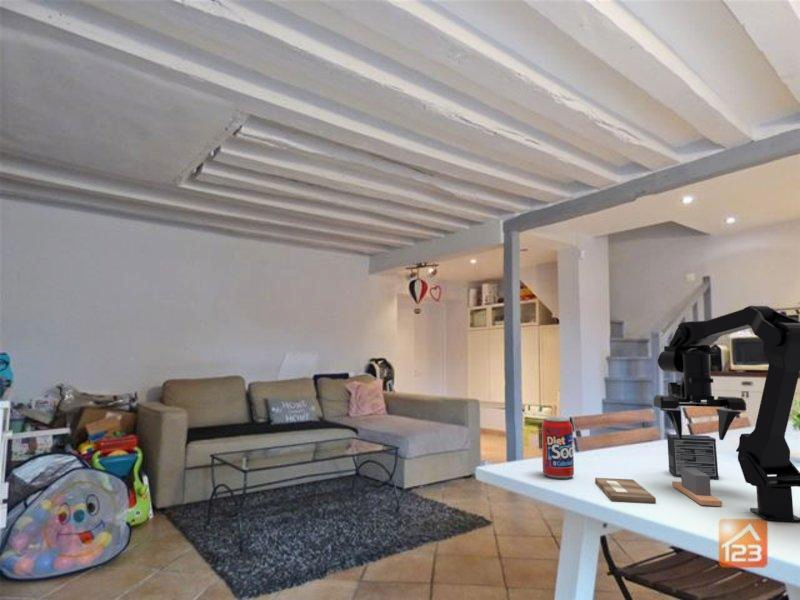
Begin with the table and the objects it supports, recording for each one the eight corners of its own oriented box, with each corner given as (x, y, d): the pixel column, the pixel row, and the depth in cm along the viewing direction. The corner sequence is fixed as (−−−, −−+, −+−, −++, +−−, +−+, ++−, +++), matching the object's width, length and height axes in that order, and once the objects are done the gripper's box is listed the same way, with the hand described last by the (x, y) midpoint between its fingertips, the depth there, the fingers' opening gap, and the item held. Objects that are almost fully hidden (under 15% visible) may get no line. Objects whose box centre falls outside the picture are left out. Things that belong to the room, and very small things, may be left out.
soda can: (555, 471, 136) (553, 415, 138) (580, 477, 130) (578, 419, 131) (536, 475, 132) (535, 417, 133) (561, 481, 125) (560, 421, 127)
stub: (722, 506, 105) (720, 480, 106) (700, 504, 106) (699, 479, 107) (690, 486, 121) (689, 464, 122) (672, 485, 122) (671, 463, 122)
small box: (711, 474, 135) (709, 434, 136) (719, 480, 128) (717, 438, 129) (668, 471, 137) (666, 432, 139) (674, 477, 131) (672, 436, 132)
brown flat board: (655, 503, 107) (655, 497, 108) (612, 501, 109) (611, 495, 109) (633, 484, 123) (633, 479, 123) (595, 482, 124) (595, 477, 125)
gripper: (722, 372, 127) (726, 435, 125) (645, 371, 130) (647, 432, 128) (745, 374, 116) (749, 442, 115) (660, 373, 119) (663, 440, 117)
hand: (700, 439), depth 119 cm, fingers open, 9 cm apart
